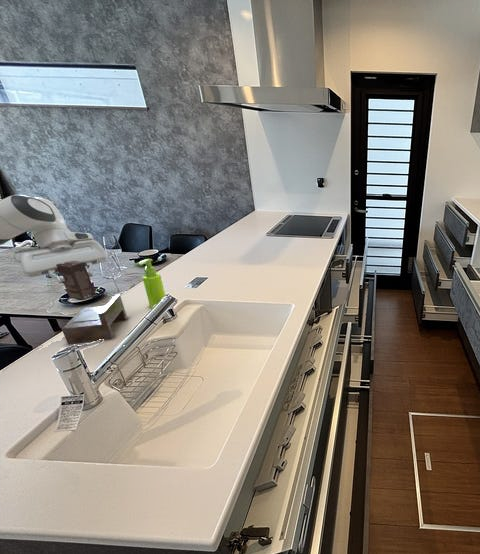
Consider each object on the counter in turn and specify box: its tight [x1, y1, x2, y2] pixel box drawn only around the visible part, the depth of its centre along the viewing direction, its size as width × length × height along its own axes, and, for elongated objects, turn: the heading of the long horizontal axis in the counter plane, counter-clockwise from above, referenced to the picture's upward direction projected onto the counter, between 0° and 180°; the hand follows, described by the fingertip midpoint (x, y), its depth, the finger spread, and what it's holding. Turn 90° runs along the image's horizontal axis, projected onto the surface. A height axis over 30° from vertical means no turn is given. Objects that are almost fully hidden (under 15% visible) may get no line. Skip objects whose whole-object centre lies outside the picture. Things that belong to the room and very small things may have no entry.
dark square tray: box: [61, 294, 128, 345], centre depth 105 cm, size 12×14×10 cm
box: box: [56, 261, 97, 301], centre depth 99 cm, size 6×4×12 cm
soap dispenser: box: [136, 258, 166, 309], centre depth 121 cm, size 6×7×20 cm
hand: (76, 279), depth 98 cm, fingers closed on box, 5 cm apart
